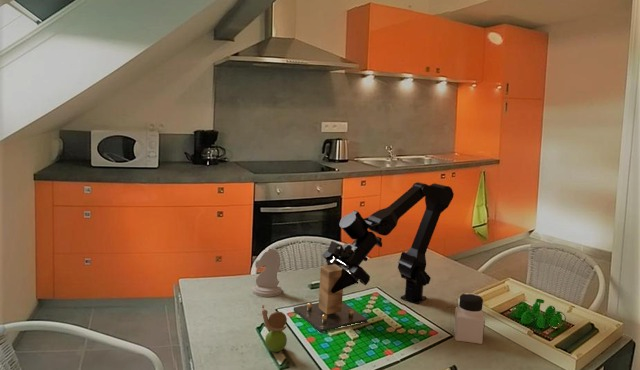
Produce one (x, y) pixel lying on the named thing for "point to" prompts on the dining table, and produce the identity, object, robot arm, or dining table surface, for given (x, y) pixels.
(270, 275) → the chess piece
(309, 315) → the standoff plate
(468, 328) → the medicine bottle
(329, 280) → the wood block
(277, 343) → the snail figurine
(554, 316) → the green bumpy clump
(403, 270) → the robot arm
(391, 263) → the dining table surface
